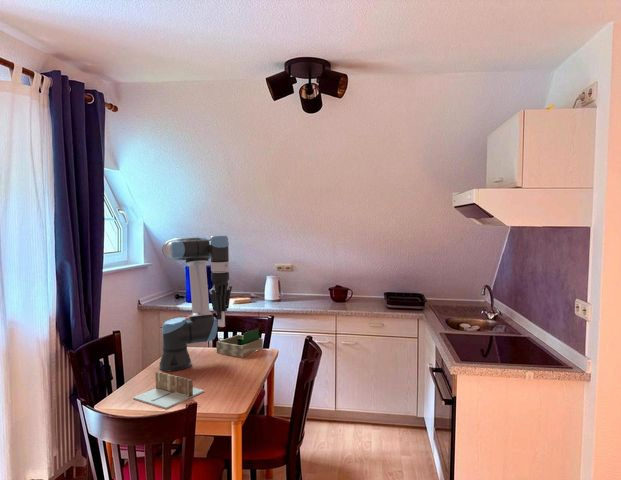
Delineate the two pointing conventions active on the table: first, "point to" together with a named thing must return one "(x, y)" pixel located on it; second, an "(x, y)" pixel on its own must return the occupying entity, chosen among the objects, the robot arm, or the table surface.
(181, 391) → the fence gate
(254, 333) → the pixelated creature
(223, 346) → the box
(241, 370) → the table surface
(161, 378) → the fence fixed
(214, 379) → the table surface
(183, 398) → the card
